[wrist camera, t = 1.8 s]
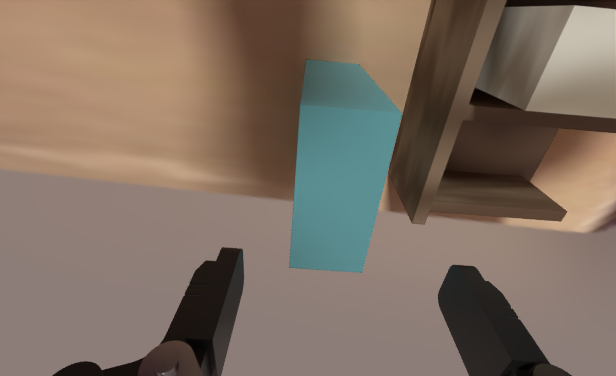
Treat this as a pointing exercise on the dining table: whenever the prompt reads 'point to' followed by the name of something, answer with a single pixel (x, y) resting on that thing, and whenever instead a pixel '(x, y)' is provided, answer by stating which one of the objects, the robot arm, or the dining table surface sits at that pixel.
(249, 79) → the dining table surface
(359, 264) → the teal book
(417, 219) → the book rack
